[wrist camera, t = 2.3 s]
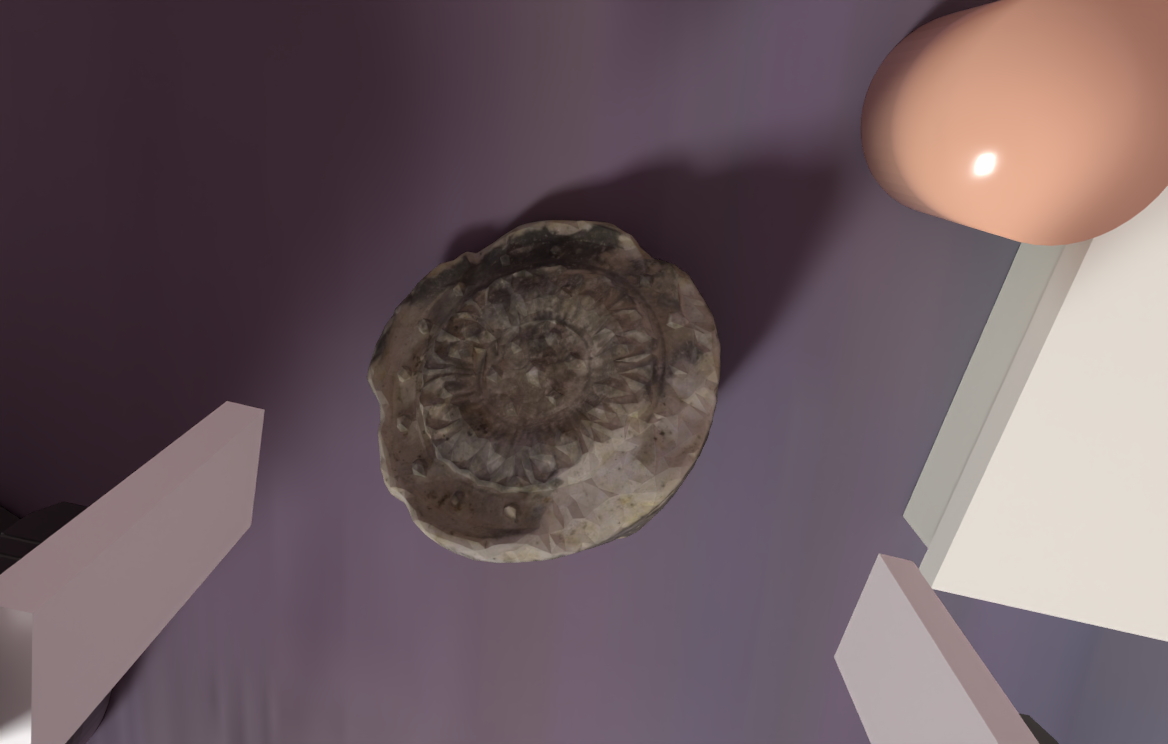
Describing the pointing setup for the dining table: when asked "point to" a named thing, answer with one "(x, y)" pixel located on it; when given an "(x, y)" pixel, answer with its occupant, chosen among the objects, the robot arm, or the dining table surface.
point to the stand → (1062, 439)
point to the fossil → (544, 392)
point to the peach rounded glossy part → (1026, 117)
